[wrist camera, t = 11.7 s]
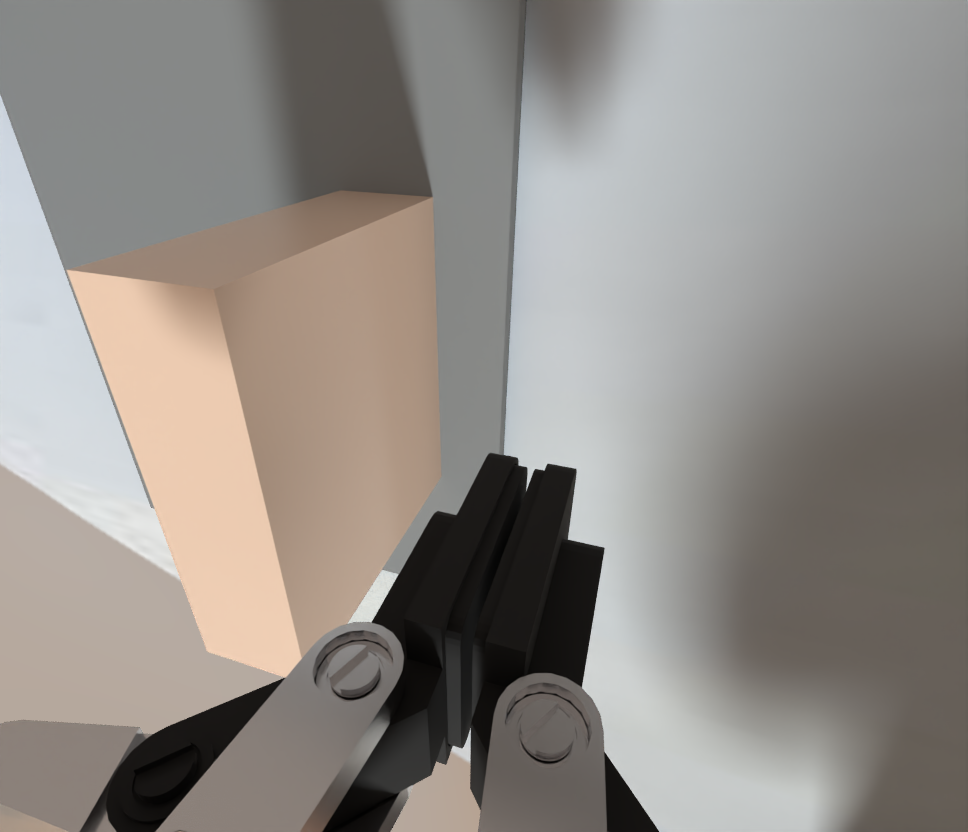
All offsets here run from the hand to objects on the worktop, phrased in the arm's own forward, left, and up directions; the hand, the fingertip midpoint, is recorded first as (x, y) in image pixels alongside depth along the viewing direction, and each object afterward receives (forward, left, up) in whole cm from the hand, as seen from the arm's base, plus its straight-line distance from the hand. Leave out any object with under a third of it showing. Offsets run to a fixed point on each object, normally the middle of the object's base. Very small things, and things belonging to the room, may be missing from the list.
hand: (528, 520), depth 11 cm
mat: (0, +12, -8) cm, 14 cm away
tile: (-1, +6, -8) cm, 10 cm away
